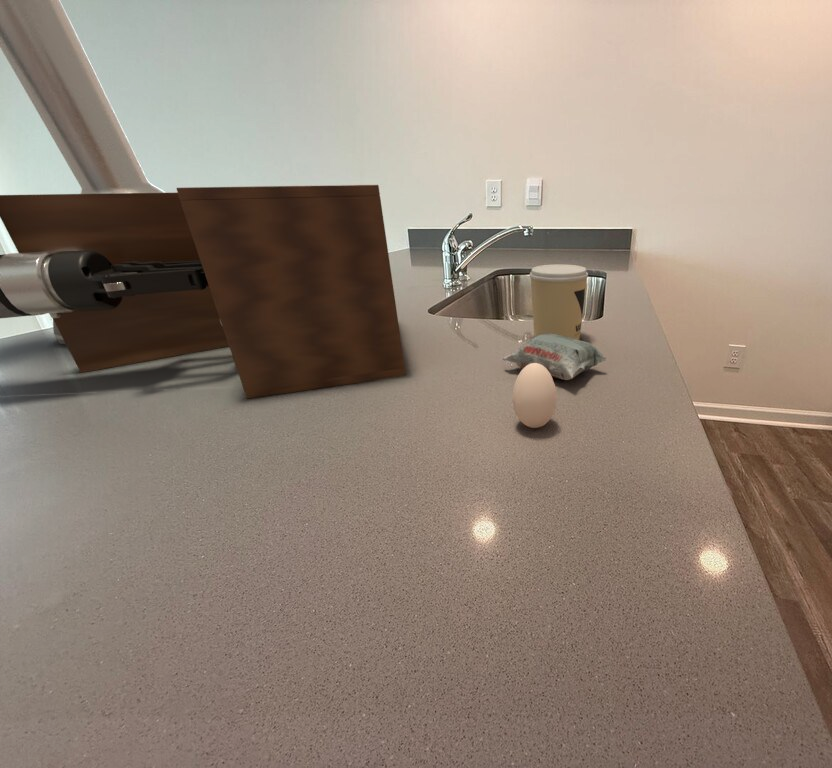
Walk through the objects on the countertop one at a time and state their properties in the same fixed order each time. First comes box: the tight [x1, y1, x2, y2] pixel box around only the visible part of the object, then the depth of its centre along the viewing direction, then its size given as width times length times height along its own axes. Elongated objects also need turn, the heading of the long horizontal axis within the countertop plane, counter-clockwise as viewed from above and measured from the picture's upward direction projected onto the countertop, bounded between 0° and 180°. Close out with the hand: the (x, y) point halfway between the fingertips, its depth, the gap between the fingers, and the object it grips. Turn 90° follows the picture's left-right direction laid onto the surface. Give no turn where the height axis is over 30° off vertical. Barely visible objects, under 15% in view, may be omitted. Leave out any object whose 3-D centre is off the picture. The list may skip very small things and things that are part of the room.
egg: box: [512, 363, 558, 429], centre depth 43 cm, size 5×5×7 cm
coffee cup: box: [529, 263, 589, 340], centre depth 68 cm, size 9×9×12 cm
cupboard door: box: [0, 191, 229, 373], centre depth 65 cm, size 7×26×24 cm, turn 125°
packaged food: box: [502, 334, 607, 381], centre depth 57 cm, size 9×12×5 cm
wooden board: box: [175, 184, 407, 399], centre depth 61 cm, size 20×26×24 cm
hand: (272, 269), depth 58 cm, fingers closed on salt shaker, 3 cm apart
